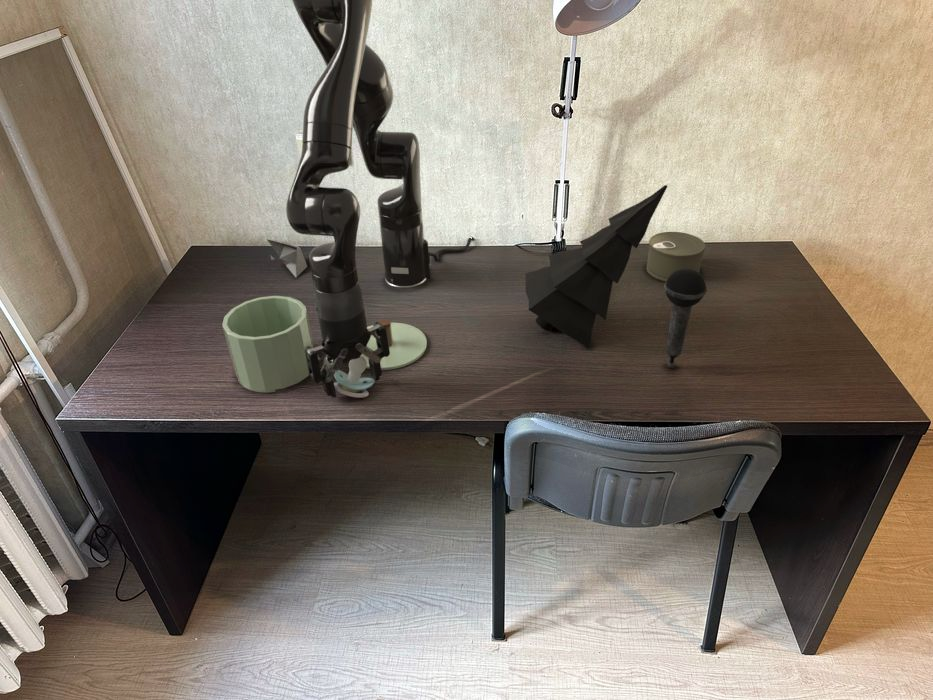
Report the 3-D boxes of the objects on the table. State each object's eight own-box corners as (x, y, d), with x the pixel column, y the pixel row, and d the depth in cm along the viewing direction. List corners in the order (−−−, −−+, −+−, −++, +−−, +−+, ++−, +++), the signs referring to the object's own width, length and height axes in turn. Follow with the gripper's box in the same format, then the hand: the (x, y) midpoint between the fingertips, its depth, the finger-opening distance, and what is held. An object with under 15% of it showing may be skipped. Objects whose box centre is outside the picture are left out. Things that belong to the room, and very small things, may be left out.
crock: (299, 338, 133) (289, 288, 127) (328, 374, 123) (318, 321, 117) (227, 362, 127) (213, 311, 121) (251, 402, 117) (236, 348, 111)
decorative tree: (576, 363, 130) (708, 225, 113) (514, 326, 125) (643, 177, 108) (568, 322, 142) (687, 192, 125) (511, 287, 137) (627, 147, 120)
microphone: (683, 383, 118) (703, 284, 107) (645, 372, 121) (661, 274, 110) (694, 363, 123) (715, 266, 112) (658, 353, 126) (674, 257, 115)
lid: (403, 319, 138) (401, 293, 135) (441, 354, 128) (440, 327, 124) (334, 343, 132) (330, 316, 128) (368, 382, 121) (364, 354, 117)
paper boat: (321, 263, 157) (292, 269, 150) (310, 281, 161) (281, 288, 154) (292, 226, 160) (261, 230, 152) (281, 245, 163) (251, 250, 156)
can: (710, 279, 149) (716, 251, 145) (660, 286, 147) (664, 258, 143) (683, 255, 158) (688, 228, 154) (636, 262, 156) (640, 235, 152)
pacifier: (368, 404, 116) (371, 387, 121) (378, 373, 113) (381, 357, 118) (327, 393, 114) (332, 376, 120) (335, 362, 112) (340, 346, 117)
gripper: (307, 331, 102) (324, 413, 112) (390, 303, 108) (400, 382, 118) (289, 311, 108) (307, 390, 117) (370, 284, 114) (381, 362, 123)
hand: (354, 386), depth 117 cm, fingers closed on pacifier, 8 cm apart
